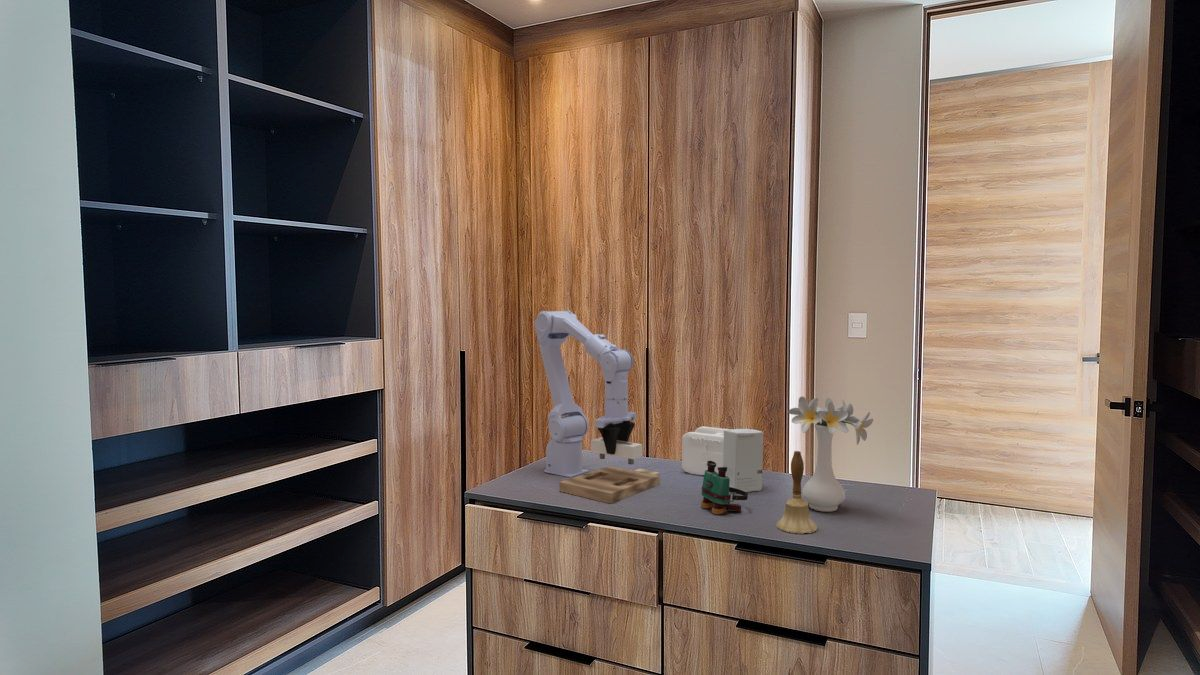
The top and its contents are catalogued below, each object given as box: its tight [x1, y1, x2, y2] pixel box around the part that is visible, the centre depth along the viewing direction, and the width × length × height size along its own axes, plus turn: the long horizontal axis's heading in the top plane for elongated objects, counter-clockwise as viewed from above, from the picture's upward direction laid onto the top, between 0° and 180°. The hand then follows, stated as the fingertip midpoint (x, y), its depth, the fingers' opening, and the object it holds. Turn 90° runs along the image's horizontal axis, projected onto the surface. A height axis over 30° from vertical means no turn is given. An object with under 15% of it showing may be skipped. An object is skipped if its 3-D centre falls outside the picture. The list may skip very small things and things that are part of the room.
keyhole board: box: [559, 466, 660, 504], centre depth 175 cm, size 20×16×2 cm
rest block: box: [633, 468, 661, 480], centre depth 184 cm, size 6×3×2 cm, turn 52°
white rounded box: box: [681, 425, 730, 476], centre depth 190 cm, size 15×11×12 cm
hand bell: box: [775, 450, 818, 535], centre depth 146 cm, size 8×8×16 cm
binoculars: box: [700, 461, 749, 515], centre depth 159 cm, size 9×11×10 cm
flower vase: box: [787, 396, 874, 513], centre depth 159 cm, size 13×18×25 cm
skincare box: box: [723, 428, 764, 494], centre depth 175 cm, size 8×6×15 cm
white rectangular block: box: [590, 437, 643, 465], centre depth 177 cm, size 13×4×5 cm, turn 52°
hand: (616, 452), depth 177 cm, fingers closed on white rectangular block, 4 cm apart
